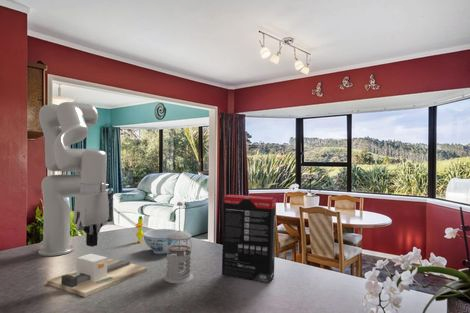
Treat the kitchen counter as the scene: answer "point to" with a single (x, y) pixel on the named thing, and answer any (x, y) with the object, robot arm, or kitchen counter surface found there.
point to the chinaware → (159, 240)
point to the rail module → (92, 266)
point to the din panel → (85, 287)
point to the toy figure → (139, 226)
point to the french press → (178, 257)
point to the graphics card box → (249, 237)
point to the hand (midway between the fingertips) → (91, 245)
